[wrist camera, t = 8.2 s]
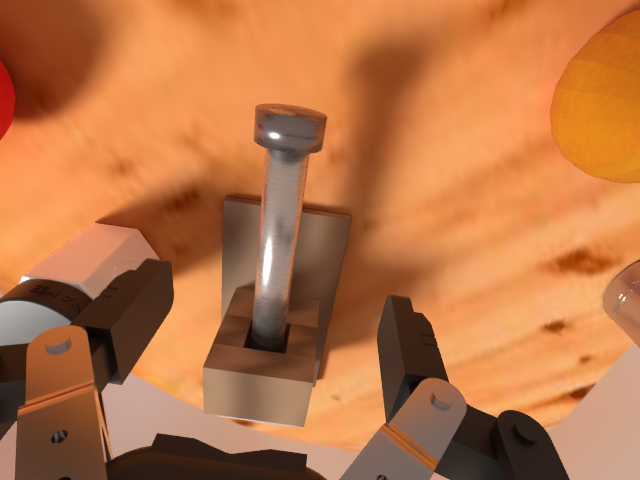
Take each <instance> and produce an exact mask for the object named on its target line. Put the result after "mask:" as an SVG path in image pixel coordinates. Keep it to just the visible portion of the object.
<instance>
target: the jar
mask: <svg viewBox="0 0 640 480" xmlns="http://www.w3.org/2000/svg"><path fill="white" fill-rule="evenodd" d="M147 258H151V259H158V260H160V258H159V257H158V256H157V254H156V253H155V252H154V250H153V249H152V247H151V246H150V245H149V243H148V242H147V241H146V239H145V238H144V236H143V235H142V234H141V232H140V231H139V230H138V229H134V228H127V227H120V226H113V225H106V224H99V223H92V224H91V225H89V226H88V227H87V228H85V229H84V230H83V231H81V232H80V233H79V234H77V235H76V236H75V237H73V238H72V239H71V240H69V241H68V242H67V243H65V244H64V245H63V246H61V247H60V248H59V249H57V250H56V251H55V252H53V253H52V254H50V255H49V256H48V257H46V258H45V259H44V260H42V261H41V262H40V263H38V264H37V265H36V266H34V267H33V268H32V269H30V270H29V271H28V272H26V273H25V274H24V275H23V276H22V278H21V280H20V282H19V285H17V286H16V287H14V288H13V289H12V290H11V291H9V292H8V293H7V294H5V295H4V296H3V297H1V298H0V346H4V345H14V344H25V343H31V341H32V340H33V339H34V338H36V337H37V336H38V335H40V334H41V333H43V332H45V331H47V330H49V329H52V328H55V327H59V326H66V325H69V324H70V323H71V322H72V321H73V320H74V319H75V318H76V317H77V316H78V315H79V314H80V313H81V312H82V311H83V310H84V309H85V308H86V307H87V306H88V305H89V304H90V303H91V302H92V301H93V300H94V299H95V298H96V297H98V296H99V294H100V293H101V292H102V291H103V290H104V289H106V287H107V286H108V284H109V283H110V282H111V281H112V280H113V279H114V278H115V277H117V276H119V275H120V274H122V273H124V272H126V271H128V270H136V269H137V268H138V267H139V266H140V265H141V264H142V263H143V261H144V260H145V259H147Z"/></svg>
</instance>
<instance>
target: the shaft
mask: <svg viewBox="0 0 640 480" xmlns="http://www.w3.org/2000/svg"><path fill="white" fill-rule="evenodd" d="M326 121H327V116H326V115H324V114H323V113H320V112H318V111H315V110H311V109H308V108H303V107H298V106H292V105H284V104H260V105H257V106H256V109H255V127H254V141H255V142H256V143H257V144H259V145H261V146H263V147H265V160H264V174H263V187H262V201H261V214H260V228H259V241H258V255H257V268H256V282H255V295H254V309H253V322H252V336H251V349H255V350H262V351H269V352H276V353H282V350H283V343H284V336H285V328H286V321H287V314H288V307H289V299H290V292H291V285H292V278H293V270H294V263H295V256H296V249H297V241H298V234H299V227H300V219H301V212H302V205H303V198H304V190H305V183H306V176H307V169H308V161H309V154H310V153H316V152H319V151H321V150H322V147H323V140H324V134H325V128H326Z"/></svg>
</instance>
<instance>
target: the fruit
mask: <svg viewBox="0 0 640 480" xmlns="http://www.w3.org/2000/svg"><path fill="white" fill-rule="evenodd" d="M550 119H551V131H552V136H553V138H554V140H555V142H556V143H557V145H558V147H559V149H560V151H561V153H562V155H563V156H564V157H565V158H566V159H567V160H569V161H570V162H571V163H572V164H574V165H575V166H576V167H578V168H579V169H580V170H581V171H583V172H584V173H586V174H588V175H591V176H594V177H597V178H601V179H604V180H608V181H611V182H615V183H640V9H637V10H635V11H632V12H630V13H627V14H625V15H623V16H621V17H619V18H618V19H617V20H615V21H614V22H612V23H611V24H609V25H608V26H607V27H605V28H604V29H602V30H601V31H600V32H598V33H597V34H595V35H594V36H592V37H591V39H590V40H589V41H588V42H587V43H586V44H585V45H584V46H583V47H582V49H581V50H580V51H579V52H578V53H577V54H576V55H575V56H574V57H573V59H572V60H571V61H570V62H569V63H568V65H567V67H566V69H565V71H564V73H563V74H562V76H561V78H560V80H559V82H558V83H557V85H556V88H555V92H554V96H553V100H552V104H551V108H550Z"/></svg>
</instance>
